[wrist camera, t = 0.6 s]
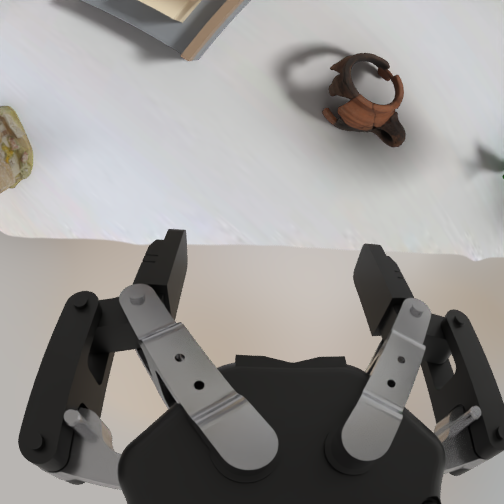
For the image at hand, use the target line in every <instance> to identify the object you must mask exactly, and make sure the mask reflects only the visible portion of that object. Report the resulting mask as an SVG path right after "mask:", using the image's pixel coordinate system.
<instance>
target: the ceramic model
mask: <svg viewBox="0 0 504 504" xmlns="http://www.w3.org/2000/svg"><path fill="white" fill-rule="evenodd" d="M32 166H33V151H32V148H31V145H30V143H29V140H28V138H27V135H26V133H25V131H24V128H23V126H22V124H21V122H20V120H19V118H18V116H17V114H16V113H15V111H14V110H13V109H12V108H11V107H9V106H2V107H0V193H2V192H3V191H5V190H7V189H8V188H15V186H16V185H17V184H18V183H19V182H20V181H21V180H22V179H26V178H27V177H28V176H29V175H30V174H31V170H32Z"/></svg>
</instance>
